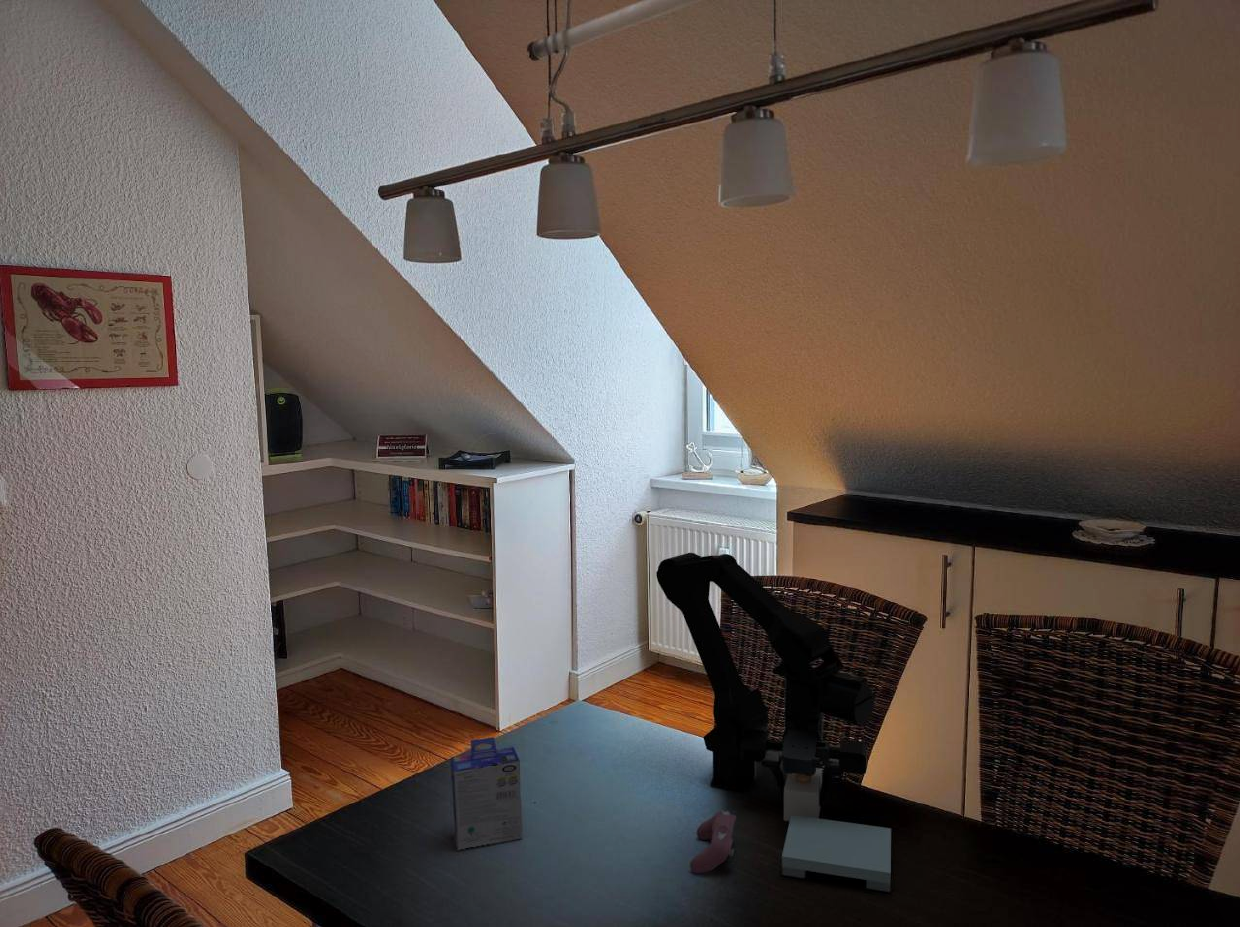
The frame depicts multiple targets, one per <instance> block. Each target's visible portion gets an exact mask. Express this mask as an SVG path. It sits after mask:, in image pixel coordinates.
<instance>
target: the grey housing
mask: <svg viewBox="0 0 1240 927" xmlns="http://www.w3.org/2000/svg"><path fill="white" fill-rule="evenodd" d="M822 778H823V768H816V773H815V774H814V775H812V776H805V775H804V774H797V773H792V774H789V773H787V779H786V783H785V787H784V800H783V821H785V822H790V818H791V815H797V816H804V817H812V818H819V819H820V817H819V816H820V812H821V806H819V797H820V791H821V785H822Z"/></svg>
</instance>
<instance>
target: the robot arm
mask: <svg viewBox="0 0 1240 927" xmlns="http://www.w3.org/2000/svg"><path fill="white" fill-rule="evenodd" d="M655 574H656V579H657V582H658V584H659V586H660V588H661V590H662V592H663V594H664V595H665V597H666V599H667V600H668V602H670V603H671V604H673V606H674V607H676V608H678V610H679V611H680V612H681V614H682V616H683V619H684V621H685V623H686V626H687V628H688V631H689V633H690V636H691V638H692V641H693V643H694V646H695V649H696V651H697V654H698V656H699V658H700V661H701V663H702V666H703V669H704V670H705V673H706V676H707V678H708V680H709V683H710V686H711V689H712V691H713V694H714V695H713V696H714V697H713V706H712V707H713V708H712V715H713V718H714V723H715V727H714V728H712V729H711V730H710V731H708V732H707V733H706V734H705V735H704V736H703V741H704V745H705V749H706V750H707V751H710V752H712V778H711V780H710V786H711V787H712V788H719V789H725V790H726V789H727V790H734V791H742V792H750V791H751V789H752V787H753V784H754V783H756V779H757V777H758V776H757V774H758V768H757V767H758V765H757V764H758V763H761V766H762V767H764V768H768V769H769V770H770V771H771V773H772V774H773V775H774V778H775V780H776V783H777V785H778V788H779V792H780V795H781V797H782V800H783V801H784V787H785V783H786V779H787V775H788V773H789V774H792V773H797V774H804V775H805V776H812V775H814V774H815V773H816V768H818V769H823V771H822V785H821V791H820V797H819V806H820V808H822V807H823V804H824V802H825V799H826V797H827V794H828V791H829V788H830V786H831V784H832V783H833V781H834V779H835V778H836V777H842V776H844V774H845V773H846V774H854V775H865V774H867V762H868V745H867V744H866V743H865V742H864V741H861V740H860V741H859V740H853V739H843V738H840V745H835V744H833V745H831V744H830V742H828V741H823V740H824V739H823V737H824V715H825V716H827V717H831V718H834V719H836V720H840V721H844V722H847V723H850V724H853V725H857V726H859V727H864V726H866V724H867V723H869V721H870V719H871V718H872V715H873V712H874V710H875V709H874V708H875V696H874V694H873V690H872V688H871V687H869V686H868V679H867V677H863V676H859V675H856V676H855V675H851V674H847V673H844V672H841V671H843V670H844V669H845V666H844V663H843V662H842V660H841V659H840V657H839V655H838V654H837V651H836V650H835V648H834V647H833V645H832V643H831V641H830V635H829V633H828V631H827V630H826V629H825V628H824V627H823V626H822V625H821V624H819V623H818V622H816V621H815V620H813V619H812V618H810V617H808V616H807V615H805V614H802V613H799V612H796V611H793V610H791V609H790V608H788V607H786V606H785V605H784V604H783V603H782V602H780V600H778V599H777V598H776V597H775V596H774V595H773V594H772V593H771V592H769V591H768V590H767V589H766V588H765V587H764V586H763V585H761V583H760V582H759V581H757V580H756V579H755V578H754V577H753V576H752V575H750V574H751V573H749V572H748V571H746V570H745V569H744V568H743V567H742V566H741V565H739V563H738V561H737V559H736V558H735V557H734V556H733V555H731V554H727V553H723V554H719V555H706V556H701V555H698V554H696V553H694V552H687V553H684V554H683V553H682V554H680V555H679V554H678V555H675V556H672V557H669V558H666V559H663V560H662V561H660V563H659V565H658V567H657V571H656V572H655ZM711 582H712V583H714V584H715V585H716V586H717V587H718V588H719V589H721V591H723V593H725V595H726V596H728V598H730V599H731V600H732V601H733V602H734V603H735V604H736V605H737V606H738V607H740V609H742V611H744V612H745V613H746V614H747V615H748V616H749V617H750V618H751V619H752V620H753V621H754V622H756V623H757V625H759V626H760V628H761V629H762V630H764V632H765V634H766V635H767V638H768V641H769V644H770V646H771V648H772V649H773V651H774V652H775V653H776V654H777V656H778V657H779V658H780V660H782V661H781V662H780V663H779V664H778V665H777V666H776V667H774V668H773V669H772V673H773V675H776V676H781V677H784V731H783V733H782V735H781V740H780V739H779V740H778V739H771V734H772V733H771V731H770V730H768V725H769V723H770V719H769V715H768V712H770V709H769V708H768V706H767V705H766V703H765V702H764V698H763V694H762V692H761V691H760V689H759V688H754V689H751V688H750V687H749V686H747V685H746V684H745V683H744V682H743V680H742V677H741V676H740V673H739V671H738V668H737V666H736V663H735V661H734V658H733V657H732V656H733V655H732V653H731V651H730V650H729V647H728V644H727V642H726V639H725V637H724V635H723V631H722V629H721V626H720V624H719V622H718V620H717V617H716V614H715V612H714V610H713V608H712V605H711V602H710V590H711ZM821 660H822V663H821V664H819V665H817V666H815V667H813V666H812V664H814V663H816V662H819V661H821Z"/></svg>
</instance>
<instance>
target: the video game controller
mask: <svg viewBox="0 0 1240 927" xmlns="http://www.w3.org/2000/svg"><path fill="white" fill-rule="evenodd" d="M736 820H737V816H736V815H735V814H734V813H732V812H729V811H724V810H723V809H721V810H719V811H717V812H716V814H714V815H713V816H711V818H709V819H707V820H705V821H703V822H702V823H701V824H700V825H699V826H698V827H697V829H696V836H697V837H698V838H699V840H702V841H703V840H704V841H708V840H711V841H710V843H709V845H708V846H707V847H706V848H704V849H703V850H702V851H701V852H700V853H698V854H696V855H695V856H694V857H693V858H692V859H691V861H690V862H689V867H690V868H689V869H690V870H691V872H693V873H694V874H705V873H707V872H710V871H712V870H714V869H716V868H717V867H718V866H719V865H721V864H722V863H724V862H725V861H726V859H727V857H729V858H731V857H733V855H734V854H735V853H734V852H735V851H734V848H732V846H733V844H734V843H733V842H734V841H733V840H734V839H733V837H732V836H733V830H734V826H735V823H736Z"/></svg>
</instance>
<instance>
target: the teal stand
mask: <svg viewBox="0 0 1240 927" xmlns="http://www.w3.org/2000/svg"><path fill="white" fill-rule="evenodd" d="M788 822H789V824H788V827H787V832H786V836H785V841H784V845H783V849H782V854H781V869H782V870H781V871H782V872H781V874H782V876H788V877H795V878H800V879H805V878H806V873H807V872H813V873H820V874H826V875H833V876H839V877H840V876H841V877H846V878H852V879H856V880H857V879H859V880H863V881H866V884H865V886H866V887H865V888H866V889H867V890H869V889H870V890H875V891H880V892H881V891H882V892H888V893H891V877H892V876H891V875H892V874H891V872H892V871H891V870H892V869H891V866H892V864H891V862H892V860H891V859H892V828H889V827H883V826H875V825H869V824H862V823H861V824H860V823H853V822H846V821H840V820H839V821H838V820H832V819H826V818H820V817H819V818H812V817H804V816H797V815H791V818H790V821H788Z"/></svg>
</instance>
